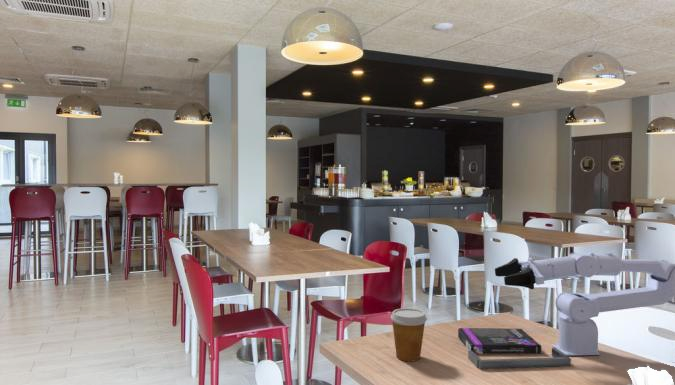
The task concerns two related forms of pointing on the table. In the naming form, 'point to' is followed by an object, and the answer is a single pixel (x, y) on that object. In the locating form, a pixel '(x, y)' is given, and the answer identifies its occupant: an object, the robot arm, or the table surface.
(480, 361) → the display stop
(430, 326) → the table surface
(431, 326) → the table surface
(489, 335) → the box
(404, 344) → the disposable coffee cup
